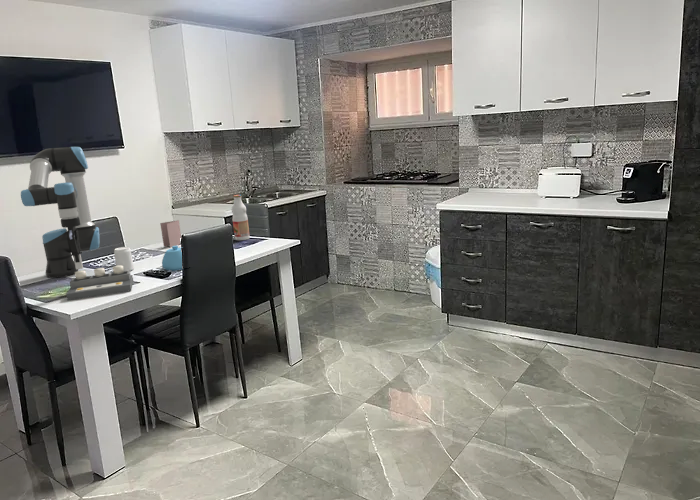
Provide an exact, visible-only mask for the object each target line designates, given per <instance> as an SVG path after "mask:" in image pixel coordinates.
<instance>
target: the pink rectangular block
mask: <svg viewBox="0 0 700 500" xmlns="http://www.w3.org/2000/svg"><path fill="white" fill-rule="evenodd" d="M180 226H181V225H180V220H179V219H177V220H172V221H171V220H170V221H165V222H160V229H161V236H162V243H163V247H164V246H165V247H169V249H172V246H179V245H181V244H180V238H181V239H182V233H181V227H180Z"/></svg>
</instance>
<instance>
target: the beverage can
mask: <svg viewBox="0 0 700 500" xmlns="http://www.w3.org/2000/svg"><path fill="white" fill-rule="evenodd" d="M113 255H114V260H115V266H118V265H123V269H124V271H129V270H130V272H131V271H133V270H134V269H135V267H134V261H133V256H132V249H131V248H130V247H129V246H120V247H116V248H115V249H114V251H113Z"/></svg>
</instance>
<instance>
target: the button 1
mask: <svg viewBox="0 0 700 500" xmlns="http://www.w3.org/2000/svg"><path fill="white" fill-rule="evenodd" d="M74 275H75V278H76V279H84V278H86V277H87V276H88V275H87V272H86V270H83V269H82V270H78V271H77V272H75V274H74Z"/></svg>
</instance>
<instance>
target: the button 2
mask: <svg viewBox="0 0 700 500" xmlns="http://www.w3.org/2000/svg"><path fill="white" fill-rule="evenodd" d="M112 272H113V273H114V274H121V273H124V269H123V265H118V266H116V265H115V266H114V265H113V266H112Z"/></svg>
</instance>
